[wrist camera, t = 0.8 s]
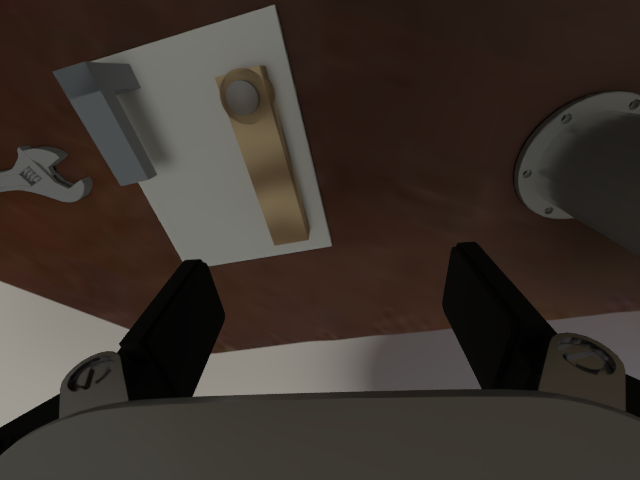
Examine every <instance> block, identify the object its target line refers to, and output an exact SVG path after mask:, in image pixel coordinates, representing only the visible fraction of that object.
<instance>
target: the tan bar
mask: <svg viewBox="0 0 640 480" xmlns="http://www.w3.org/2000/svg"><path fill="white" fill-rule="evenodd" d="M215 80H216V83H217V86H218V88H219V91H220V100H221V103H222V106H223V108H224V110H225V111H226V113H227V114H228V117H229V119H230V122H231V125H232V128H233V131H234V133H235V136H236V139H237V142H238V145H239V147H240V150H241V153H242V156H243V159H244V162H245V164H246V167H247V170H248V173H249V176H250V178H251V181H252V184H253V187H254V190H255V192H256V195H257V198H258V201H259V204H260V206H261V209H262V212H263V215H264V218H265V221H266V223H267V226H268V229H269V232H270V235H271V237H272V240H273V243H274V246H277V245H282V244H288V243H294V242H300V241H306V240H309V235H310V226H309V223H308V219H307V215H306V212H305V208H304V204H303V201H302V197H301V193H300V190H299V186H298V182H297V179H296V175H295V171H294V168H293V164H292V160H291V157H290V153H289V149H288V146H287V142H286V138H285V135H284V131H283V127H282V124H281V120H280V116H279V113H278V109H277V105H276V102H275V98H276V97H275V90H274V87H273V85H272V83H271V81H270V80H269V76H268V72H267V69H266V66H262V65H258V66H254V67H250V68H236V69H233V70H231V71H230V72H228V73H227V74H225V75H222V76H218V77H215Z"/></svg>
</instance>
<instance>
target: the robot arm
mask: <svg viewBox="0 0 640 480" xmlns="http://www.w3.org/2000/svg"><path fill="white" fill-rule="evenodd" d="M514 186H515V189H516V193H517V195H518V197H519V198H520V200H521V202H522V203H523V204H524V205H525V206H526V207H528V208H529V209H530V210H532V211H533V212H535V213H536V214H538V215H541V216H543V217H547V218H553V219H571V218H575V219H577V220H579V221H580V222H582V223H584V224H585V225H587V226H589V227H590V228H592V229H594V230H595V231H597V232H599V233H600V234H602V235H604V236H605V237H607V238H609V239H610V240H612V241H614V242H615V243H617V244H619V245H620V246H622V247H624V248H625V249H627V250H628V251H630V252H632V253H633V254H635V255H637V256H638V257H640V95H639V94H636V93H633V92H623V91H604V92H599V93H595V94H590V95H587V96H584V97H582V98H579V99H577V100H574V101H572V102H571V103H569V104H567V105H565V106H564V107H562V108H560V109H559V110H557V111H556V112H555V113H553V114H552V115H551V116H549V117H548V118H547V119H546V120H545V121H544V122H543V123H542V124H541V125H540V126H539V127H538V128H537V129H536V130H535V131H534V132H533V134H532V135H531V136H530V138H529V139H528V140H527V142H526V143H525V145H524V147H523V149H522V150H521V152H520V155H519V157H518V160H517V163H516V167H515V173H514ZM442 306H443V310H444V313H445V315H446V317H447V319H448V321H449V323H450V325H451V327H452V329H453V331H454V333H455V335H456V337H457V339H458V341H459V343H460V345H461V347H462V349H463V351H464V353H465V355H466V357H467V359H468V361H469V364H470V366H471V368H472V370H473V372H474V374H475V376H476V378H477V380H478V382H479V384H480V386H481V388H482V389H468V390H467V389H462V390H409V391H365V392H330V393H297V394H295V393H294V394H265V395H262V394H261V395H233V396H203V397H192V396H193V394H194V391H195V389H196V387H197V384H198V382H199V380H200V377H201V375H202V373H203V370H204V368H205V365H206V363H207V361H208V358H209V356H210V354H211V351H212V349H213V347H214V344H215V342H216V339H217V337H218V335H219V332H220V330H221V328H222V325H223V323H224V320H225V313H224V309H223V307H222V304H221V301H220V298H219V295H218V293H217V290H216V287H215V284H214V281H213V279H212V276H211V273H210V270H209V267H208V265H207V263H205V262H203V261H202V260H201V259H192V260H184V261H183V262H182V264H181V265H180V266H179V267H178V269H177V270H176V271H175V273H174V274H173V275H172V276H171V278H170V279H169V280H168V282H167V283H166V284H165V285H164V287H163V288H162V289H161V291H160V292H159V293H158V294H157V296H156V297H155V298H154V300H153V301H152V302H151V303H150V305H149V306H148V307H147V309H146V310H145V311H144V312H143V314H142V315H141V316H140V318H139V319H138V320H137V321H136V323H135V324H134V325H133V327H132V328H131V329H130V330H129V332H128V333H127V334H126V336H125V337H124V338H123V339H122V341H121V342H120V343H119V345H120V346H121V348H120V350H119V351H118V352H117V353H115V352H112V351H106V352H101V353H98V354H95V355H93V356H90V357H89V358H87V359H85V360H83V361H82V362H80V363H79V364H78V365H76V366H75V367H74V368H73V369H72V370H71V371H70V372H69V373H68V374H67V375H66V377H65V378H64V380H63V381H62V384H61V388H60V394H58V395H56V396H55V397H53V398H52V399H49V400H48V401H46V402H44V403H42V404H41V405H39V406H37V407H35V408H34V409H32V410H30V411H28V412H27V413H25V414H23V415H21V416H20V417H18V418H16V419H14V420H13V421H11V422H9V423H7V424H6V425H4V426H2V427H0V480H640V380H638V379H636V378H633V377H631V376H629V375H627V374H625V368H624V365H623V363H622V361H621V360H620V359H619V358H618V356H617V355H616V354H615V353H613V351H611V350H610V349H609V348H607V347H606V346H604V345H603V344H601V343H600V342H598V341H595V340H593V339H591V338H589V337H586V336H583V335H579V334H574V333H559V334H557V333H556V332H555V331H554V329H553V328H552V327H551V326H550V325H549V324H548V323H547V322H546V320H545V319H544V318H543V317H542V316H541V315H540V314H539V312H538V311H537V310H536V309H535V308H534V307H533V306H532V305H531V303H530V302H529V301H528V300H527V299H526V298H525V297H524V296H523V294H522V293H521V292H520V291H519V290H518V289H517V288H516V286H515V285H514V284H513V283H512V282H511V281H510V280H509V279H508V278H507V277H506V275H505V274H504V273H503V272H502V271H501V270H500V269H499V267H498V266H497V265H496V264H495V263H494V262H493V261H492V260H491V258H490V257H489V256H488V255H487V254H486V253H485V252H484V251H483V249H482V248H481V247H480V246H479V245H478V244H477V243H476V242H464V243H458V244H457V245H456V247H453V248H452V249H451V254H450V260H449V266H448V272H447V277H446V283H445V289H444V295H443V301H442Z"/></svg>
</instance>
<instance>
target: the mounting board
mask: <svg viewBox="0 0 640 480" xmlns="http://www.w3.org/2000/svg"><path fill="white" fill-rule="evenodd" d="M258 65H262V66H266V69H267V72H268V76H269V80H270V81H271V83H272V85H273V87H274V90H275V97H276V98H275V102H276V105H277V109H278V113H279V116H280V120H281V124H282V127H283V131H284V135H285V138H286V142H287V146H288V149H289V153H290V157H291V160H292V164H293V168H294V171H295V175H296V179H297V182H298V186H299V190H300V193H301V197H302V201H303V204H304V208H305V212H306V215H307V219H308V223H309V226H310V235H309V240H306V241H300V242H294V243H288V244H282V245H277V246H274V243H273V240H272V237H271V235H270V232H269V229H268V226H267V223H266V221H265V218H264V215H263V212H262V209H261V206H260V204H259V201H258V198H257V195H256V192H255V190H254V187H253V184H252V181H251V178H250V176H249V173H248V170H247V167H246V164H245V162H244V159H243V156H242V153H241V150H240V147H239V145H238V142H237V139H236V136H235V133H234V131H233V128H232V125H231V122H230V119H229V117H228V114H227V113H226V111H225V110H224V108H223V106H222V103H221V100H220V91H219V88H218V86H217V83H216V80H215V77H218V76H222V75H225V74H227V73H228V72H230V71H231V70H233V69H236V68H250V67H254V66H258ZM53 74H54V75H55V77H56V79H57V80H58V82H59V84H60V85H61V87H62V89H63V90H64V92H65V94H66V95H67V97H68V99H69V100H70V102H71V104H72V105H73V107H74V109H75V110H76V112H77V114H78V115H79V117H80V119H81V120H82V122H83V124H84V125H85V127H86V129H87V130H88V132H89V134H90V136H91V137H92V139H93V141H94V142H95V144H96V146H97V147H98V149H99V151H100V152H101V154H102V156H103V157H104V159H105V161H106V162H107V164H108V166H109V167H110V169H111V171H112V172H113V174H114V176H115V177H116V179H117V181H118V182H119V184H120V186H123V185H128V184H132V183H137V182H138V183H139V185H140V187H141V188H142V190H143V192H144V194H145V196H146V197H147V199H148V201H149V203H150V204H151V206H152V208H153V210H154V212H155V213H156V215H157V217H158V219H159V220H160V222H161V224H162V226H163V228H164V229H165V231H166V233H167V235H168V236H169V238H170V240H171V242H172V244H173V245H174V247H175V249H176V251H177V252H178V254H179V256H180V258H181V260H182V261H184V260H192V259H201V260H202V261H203V262H205V263H207V265H208V266H213V265H219V264H226V263H232V262H238V261H244V260H250V259H256V258H262V257H268V256H274V255H281V254H287V253H293V252H299V251H305V250H311V249H317V248H323V247H330V246H332V241H331V236H330V232H329V228H328V224H327V219H326V215H325V211H324V207H323V203H322V198H321V194H320V190H319V186H318V181H317V177H316V173H315V169H314V164H313V160H312V156H311V152H310V148H309V143H308V139H307V135H306V131H305V126H304V122H303V118H302V114H301V109H300V105H299V101H298V97H297V93H296V88H295V84H294V80H293V76H292V71H291V67H290V63H289V59H288V54H287V50H286V46H285V42H284V38H283V33H282V29H281V25H280V21H279V16H278V12H277V8H276V6H275V5H272V6H269V7H266V8H262V9H259V10H256V11H253V12H249V13H246V14H243V15H240V16H237V17H233V18H230V19H227V20H224V21H220V22H217V23H214V24H211V25H208V26H204V27H201V28H198V29H195V30H191V31H188V32H185V33H182V34H179V35H175V36H172V37H169V38H166V39H162V40H159V41H156V42H153V43H150V44H146V45H143V46H140V47H137V48H133V49H130V50H127V51H124V52H121V53H117V54H114V55H111V56H108V57H104V58H101V59H98V60H95V61H92V62H82V63H79V64H76V65H73V66H69V67H66V68H63V69H60V70H56V71H53Z"/></svg>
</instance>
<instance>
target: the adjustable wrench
mask: <svg viewBox="0 0 640 480" xmlns="http://www.w3.org/2000/svg"><path fill="white" fill-rule="evenodd" d="M17 150H18V151H17V152H18V160H17V162H16V164H15V166H14V167H13V168H12V169H11V170H3V171H0V192H3V191H11V190H24V191H29V192H34V193H38V194H41V195H45V196H48V197H51V198H54V199H56V200H59V201H63V202H75V201H77V200H79V199H81V198H83V197H85V196H87V195H88V194H89V193H90V191H91V189H92V180H91V178H90V177H86V178H84V179H81V180H80V181H79V182H77V183H76V184H73V183H71V182H69V181H67V180H65V179H63V178H62V177H61V176H60V175H59V174H58V173H57V172H56V171H55V170H54V168H53V166H54V165H57V164H58V163H60V162H61V161H62V160H63V159H65V158H66V157H67V156H68V154H67V153H66V152H65V151H63V150H61V149H58V148H54V147H48V146H43V147H37V148H32V147H31V146H30V145H27V146H22V147H18V149H17Z"/></svg>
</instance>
